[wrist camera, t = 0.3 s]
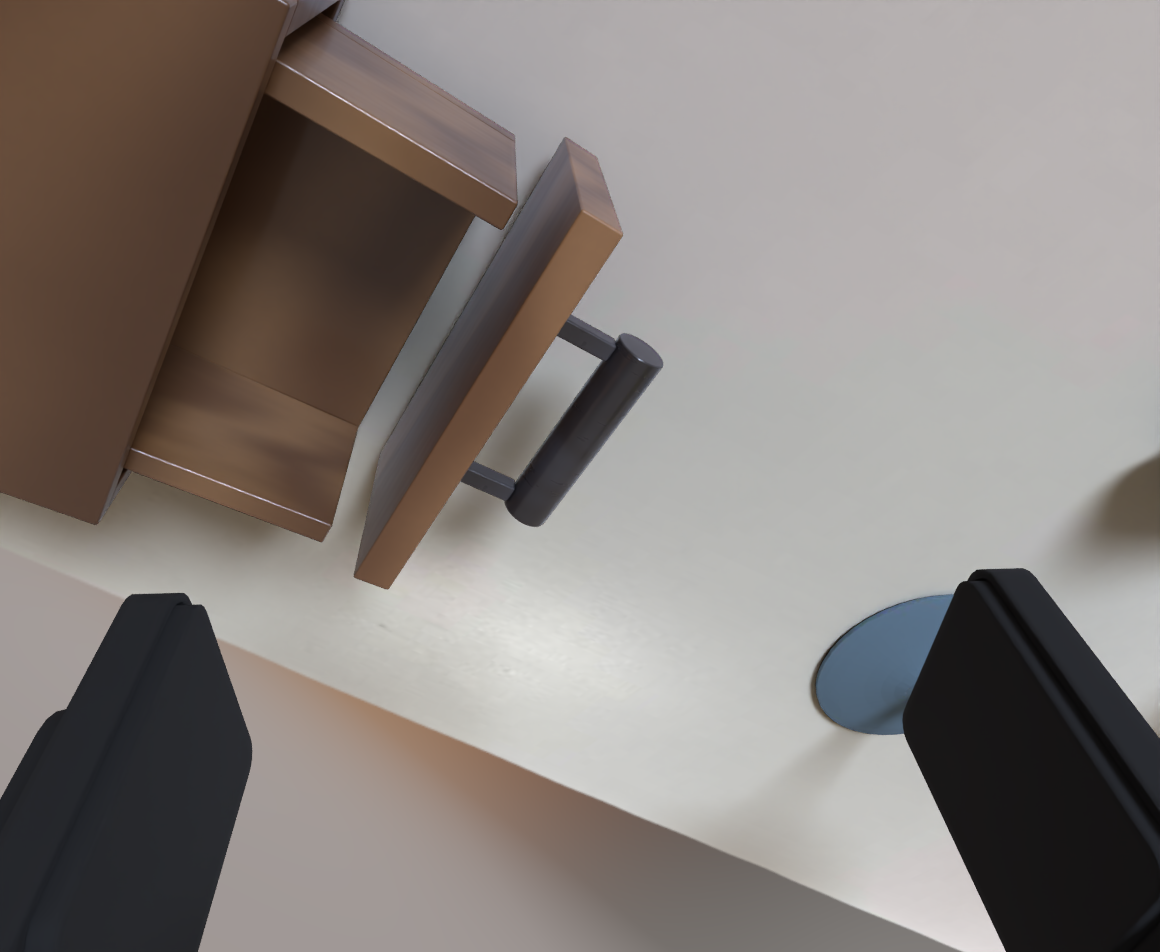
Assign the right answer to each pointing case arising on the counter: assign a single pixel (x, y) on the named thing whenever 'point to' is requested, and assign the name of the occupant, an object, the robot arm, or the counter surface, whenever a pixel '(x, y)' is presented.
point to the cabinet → (111, 213)
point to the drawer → (380, 307)
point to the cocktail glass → (879, 666)
